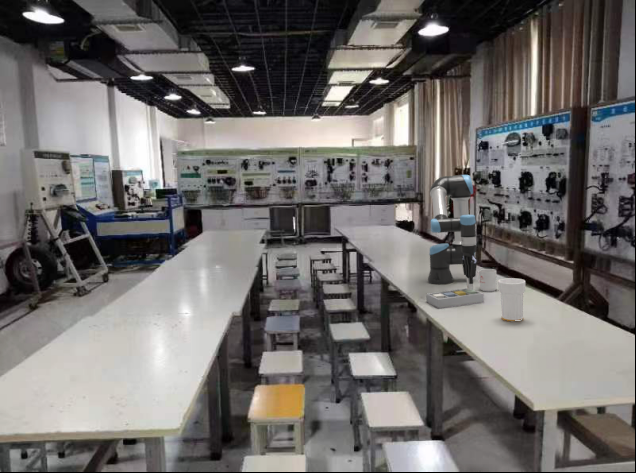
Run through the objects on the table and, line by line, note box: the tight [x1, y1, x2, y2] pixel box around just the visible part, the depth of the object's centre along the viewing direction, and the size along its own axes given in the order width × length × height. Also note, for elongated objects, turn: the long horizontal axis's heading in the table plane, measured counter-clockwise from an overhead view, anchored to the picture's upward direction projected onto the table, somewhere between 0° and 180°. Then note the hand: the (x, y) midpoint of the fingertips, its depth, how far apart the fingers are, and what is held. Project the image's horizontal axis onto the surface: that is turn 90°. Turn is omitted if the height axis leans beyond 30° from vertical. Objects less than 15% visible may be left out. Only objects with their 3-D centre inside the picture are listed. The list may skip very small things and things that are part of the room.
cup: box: [497, 277, 526, 322], centre depth 211 cm, size 11×11×17 cm
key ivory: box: [432, 294, 444, 299], centre depth 243 cm, size 4×4×2 cm
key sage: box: [464, 289, 477, 294], centre depth 246 cm, size 4×4×2 cm
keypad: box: [425, 287, 485, 309], centre depth 245 cm, size 14×25×5 cm, turn 102°
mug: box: [476, 268, 498, 293], centre depth 266 cm, size 12×9×11 cm
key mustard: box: [454, 291, 466, 296], centre depth 245 cm, size 4×4×2 cm
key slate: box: [443, 292, 455, 297], centre depth 244 cm, size 4×4×2 cm
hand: (470, 289), depth 246 cm, fingers closed
